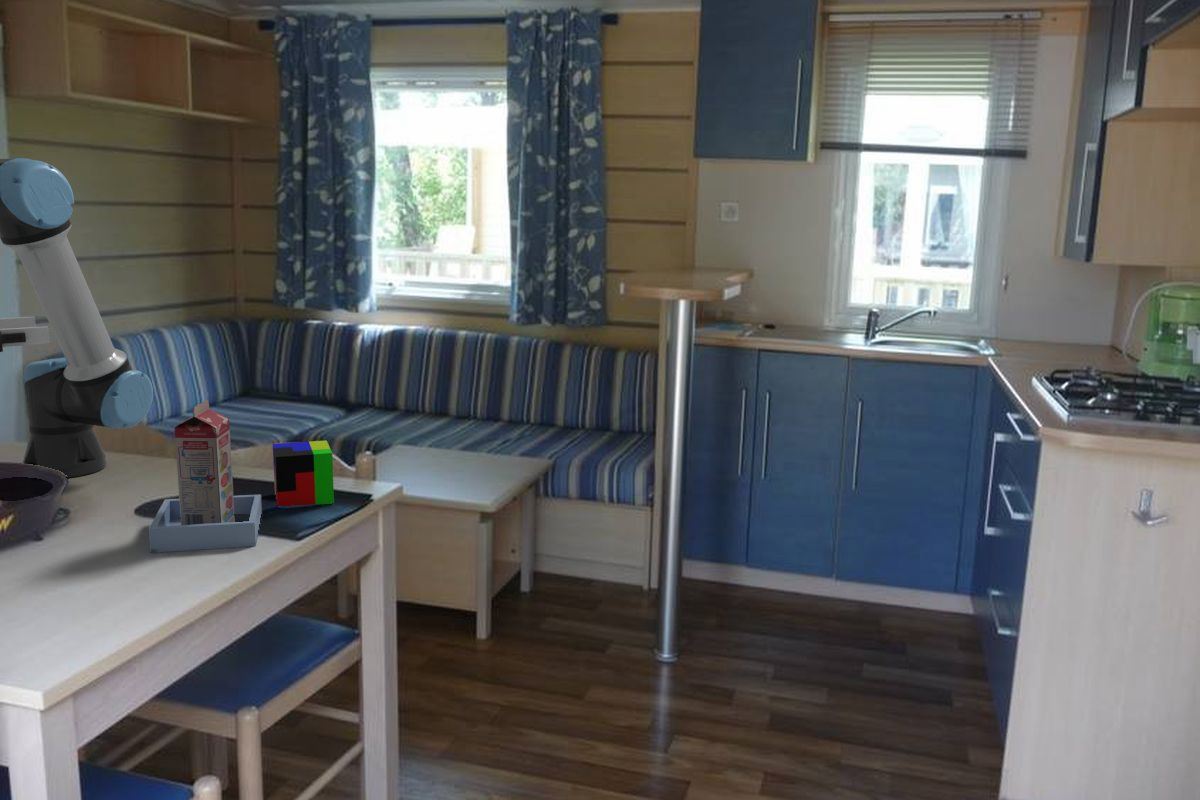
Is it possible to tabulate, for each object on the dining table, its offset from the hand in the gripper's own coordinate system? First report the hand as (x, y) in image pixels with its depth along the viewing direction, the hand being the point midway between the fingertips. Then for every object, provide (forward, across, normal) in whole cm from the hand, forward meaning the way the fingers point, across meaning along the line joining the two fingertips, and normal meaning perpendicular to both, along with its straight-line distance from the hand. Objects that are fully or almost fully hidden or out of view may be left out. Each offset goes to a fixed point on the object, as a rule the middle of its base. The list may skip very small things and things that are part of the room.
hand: (42, 329), depth 164 cm
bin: (+20, +17, -34) cm, 43 cm away
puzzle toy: (+40, +7, -35) cm, 53 cm away
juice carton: (+20, +17, -34) cm, 43 cm away
